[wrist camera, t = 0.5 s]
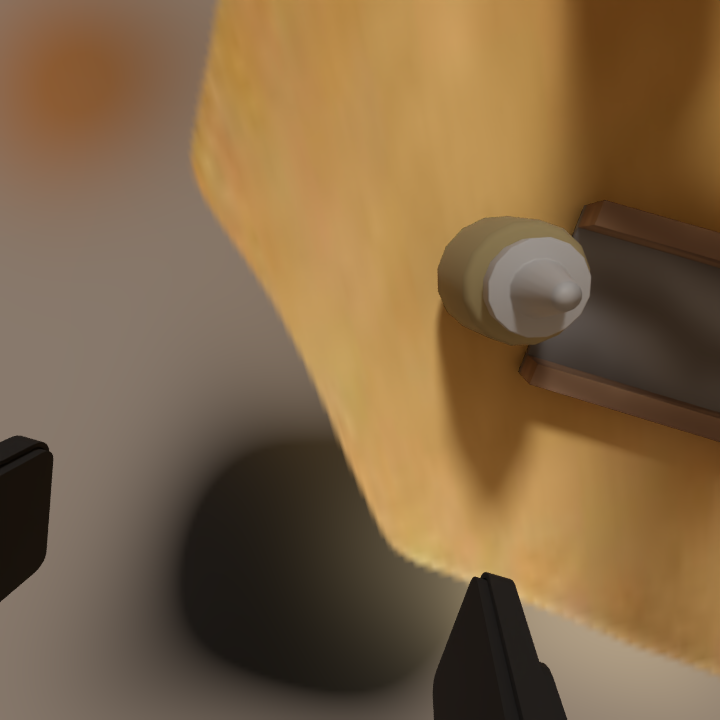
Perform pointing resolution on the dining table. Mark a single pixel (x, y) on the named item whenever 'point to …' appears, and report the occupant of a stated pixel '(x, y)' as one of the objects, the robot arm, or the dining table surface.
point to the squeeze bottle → (514, 279)
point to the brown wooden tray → (642, 322)
